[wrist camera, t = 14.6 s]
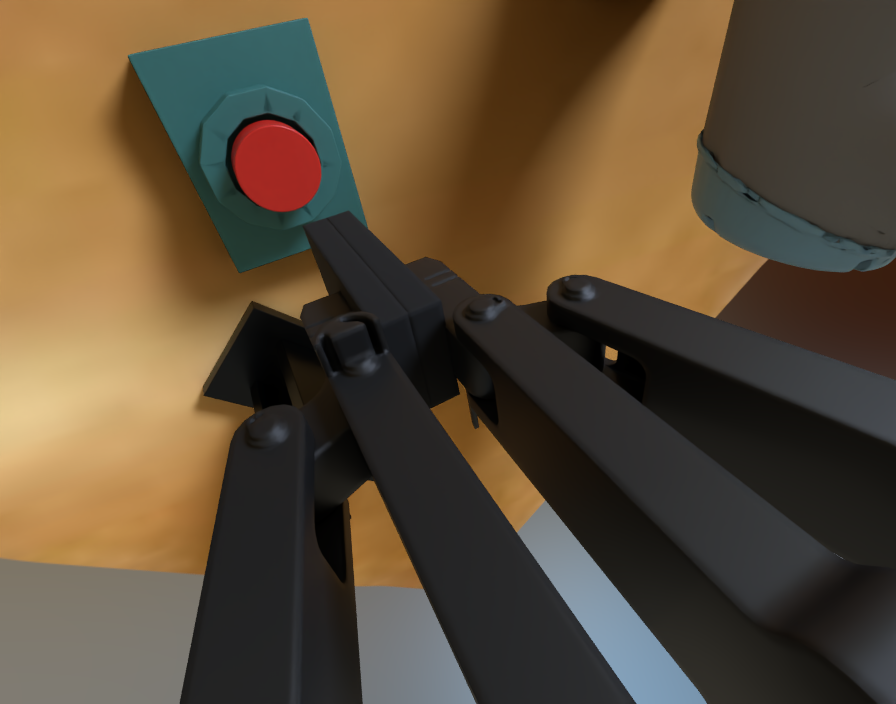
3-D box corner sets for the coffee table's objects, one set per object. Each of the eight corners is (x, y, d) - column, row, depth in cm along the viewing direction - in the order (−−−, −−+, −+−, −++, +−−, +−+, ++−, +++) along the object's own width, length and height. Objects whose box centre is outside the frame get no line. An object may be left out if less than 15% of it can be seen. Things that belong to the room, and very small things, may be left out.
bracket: (364, 345, 39) (433, 459, 28) (318, 416, 41) (367, 547, 30) (251, 300, 33) (287, 425, 22) (202, 386, 34) (214, 540, 24)
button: (215, 131, 23) (218, 138, 22) (297, 110, 25) (305, 115, 23) (251, 212, 26) (256, 223, 25) (323, 189, 27) (332, 198, 26)
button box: (130, 54, 23) (123, 56, 20) (299, 18, 25) (315, 16, 23) (236, 261, 31) (242, 284, 28) (358, 219, 33) (376, 237, 30)
